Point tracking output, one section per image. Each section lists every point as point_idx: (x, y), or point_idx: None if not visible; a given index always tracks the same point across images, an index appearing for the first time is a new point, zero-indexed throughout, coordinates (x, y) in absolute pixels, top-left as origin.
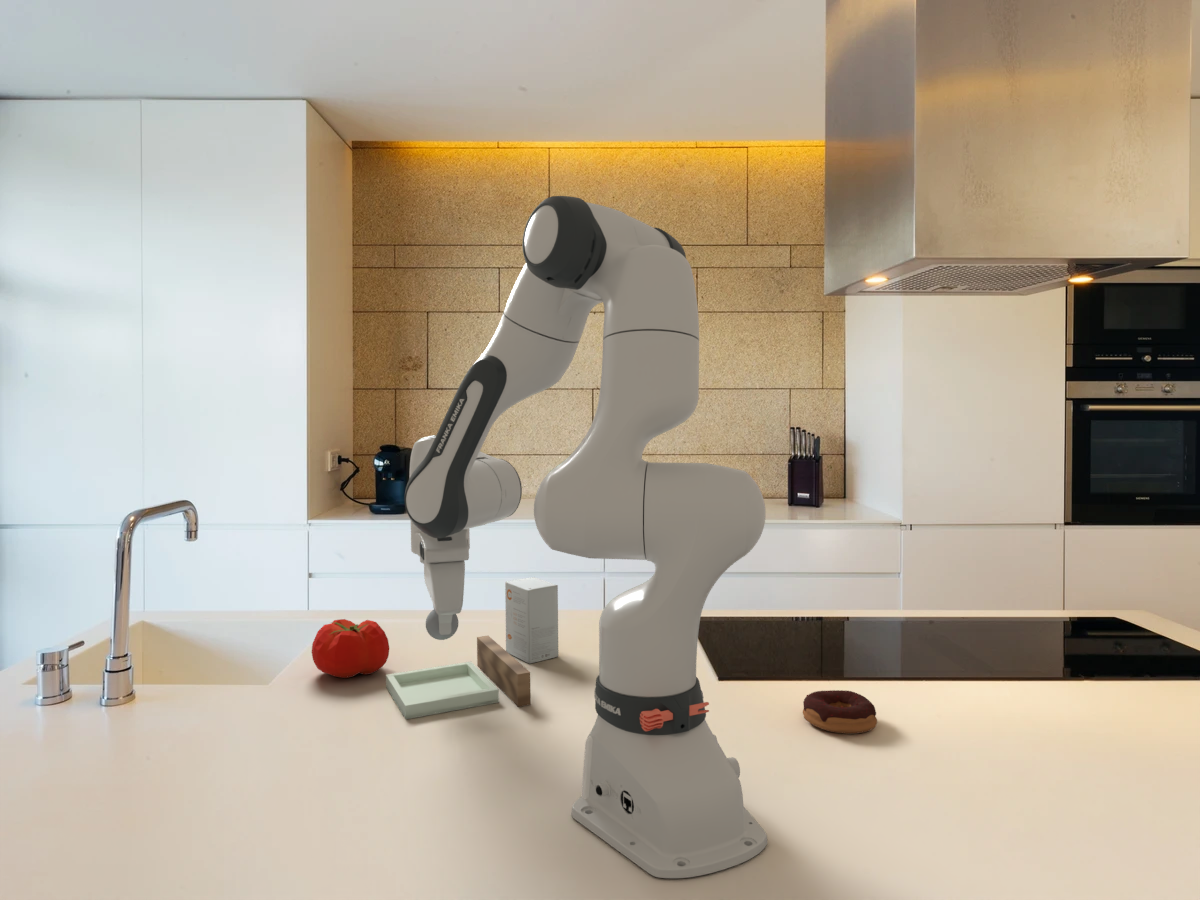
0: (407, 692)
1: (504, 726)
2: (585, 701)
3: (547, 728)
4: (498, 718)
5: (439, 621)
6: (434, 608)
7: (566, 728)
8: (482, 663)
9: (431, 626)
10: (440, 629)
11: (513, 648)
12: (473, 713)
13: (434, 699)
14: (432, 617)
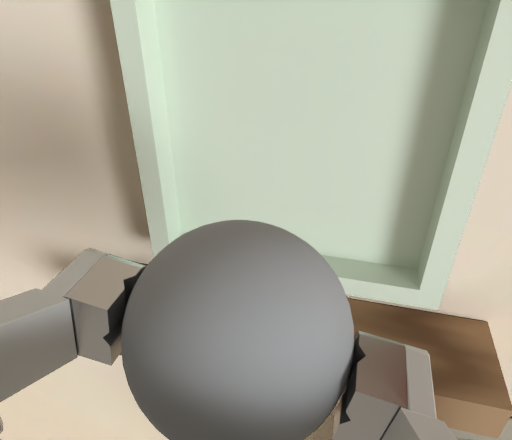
0: (357, 16)
1: (30, 191)
2: (121, 361)
3: (10, 253)
4: (76, 199)
5: (7, 299)
6: (409, 424)
7: (7, 278)
8: (428, 329)
9: (165, 254)
10: (73, 268)
11: (485, 437)
12: (120, 161)
13: (130, 72)
14: (158, 311)
